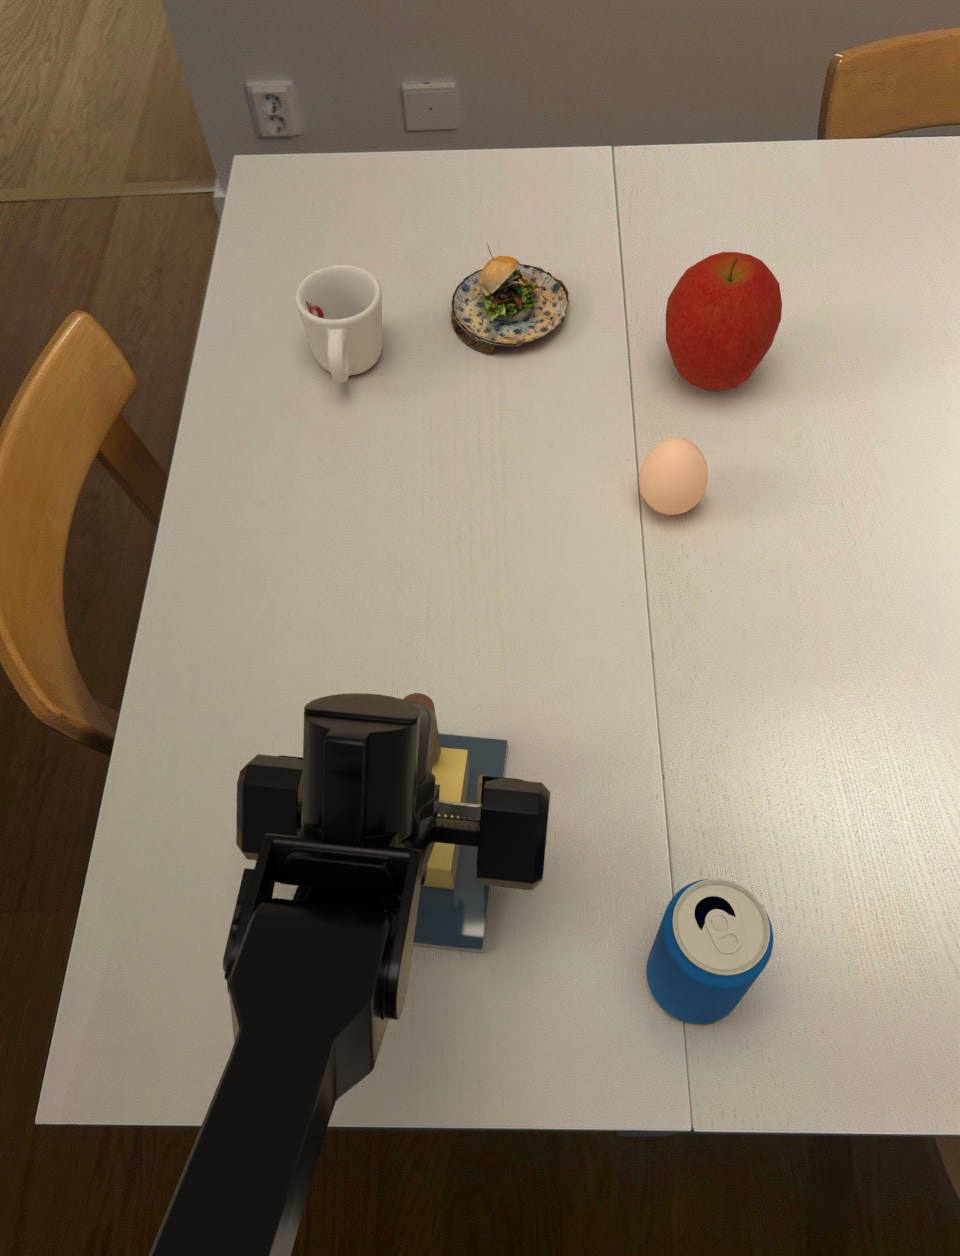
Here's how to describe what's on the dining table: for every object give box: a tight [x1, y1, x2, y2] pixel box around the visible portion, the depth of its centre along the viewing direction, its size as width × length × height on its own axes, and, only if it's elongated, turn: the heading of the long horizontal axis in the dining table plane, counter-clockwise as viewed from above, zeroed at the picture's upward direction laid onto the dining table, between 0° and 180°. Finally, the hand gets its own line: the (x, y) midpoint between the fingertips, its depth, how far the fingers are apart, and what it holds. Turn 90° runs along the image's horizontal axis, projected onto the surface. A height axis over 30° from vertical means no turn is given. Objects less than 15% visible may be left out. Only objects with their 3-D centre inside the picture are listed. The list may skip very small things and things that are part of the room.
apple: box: [665, 251, 783, 392], centre depth 96 cm, size 10×10×14 cm
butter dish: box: [413, 733, 509, 954], centre depth 76 cm, size 16×11×5 cm
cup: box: [295, 264, 383, 383], centre depth 100 cm, size 11×8×8 cm
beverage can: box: [646, 878, 774, 1025], centre depth 67 cm, size 6×6×12 cm
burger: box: [450, 243, 570, 355], centre depth 104 cm, size 12×12×8 cm
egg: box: [638, 436, 709, 516], centre depth 90 cm, size 6×6×8 cm
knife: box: [402, 692, 441, 764], centre depth 75 cm, size 5×2×11 cm, turn 173°
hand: (415, 774), depth 72 cm, fingers open, 9 cm apart
